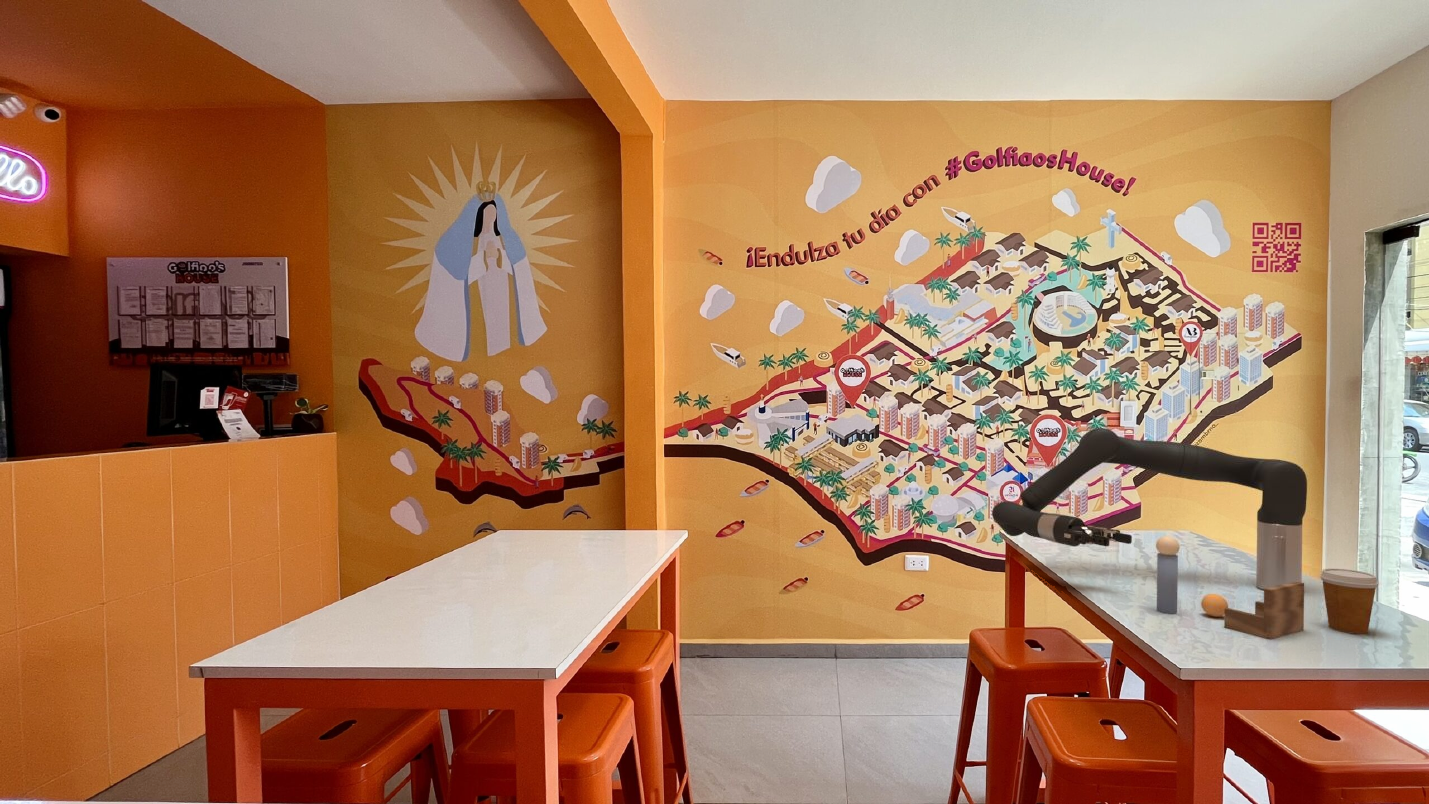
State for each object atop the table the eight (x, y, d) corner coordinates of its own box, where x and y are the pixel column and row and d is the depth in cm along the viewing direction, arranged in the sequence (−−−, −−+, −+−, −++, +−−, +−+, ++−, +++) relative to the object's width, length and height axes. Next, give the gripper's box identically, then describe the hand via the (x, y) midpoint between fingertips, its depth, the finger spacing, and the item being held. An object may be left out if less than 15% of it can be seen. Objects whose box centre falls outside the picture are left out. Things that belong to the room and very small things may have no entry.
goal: (1257, 619, 162) (1258, 574, 162) (1303, 630, 154) (1304, 583, 154) (1224, 627, 156) (1224, 580, 156) (1270, 639, 148) (1270, 590, 148)
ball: (1209, 611, 167) (1209, 590, 167) (1232, 617, 162) (1233, 595, 162) (1196, 614, 165) (1196, 592, 165) (1220, 620, 160) (1220, 598, 160)
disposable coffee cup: (1354, 623, 159) (1355, 568, 159) (1390, 637, 150) (1391, 579, 150) (1307, 621, 160) (1308, 567, 160) (1340, 635, 151) (1341, 577, 151)
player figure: (1162, 607, 170) (1163, 533, 170) (1183, 612, 166) (1184, 537, 166) (1150, 610, 168) (1151, 535, 168) (1171, 615, 164) (1171, 538, 164)
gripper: (1043, 516, 188) (1101, 527, 174) (1079, 513, 194) (1138, 523, 180) (1042, 545, 188) (1100, 558, 174) (1078, 541, 195) (1137, 554, 180)
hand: (1119, 540), depth 177 cm, fingers open, 8 cm apart
